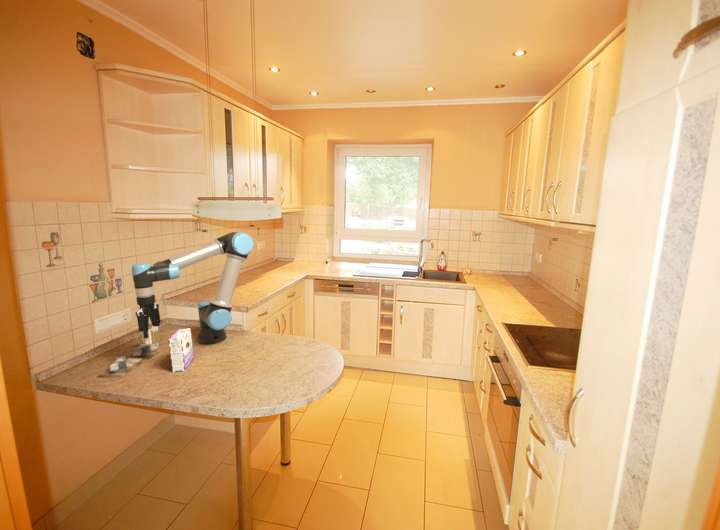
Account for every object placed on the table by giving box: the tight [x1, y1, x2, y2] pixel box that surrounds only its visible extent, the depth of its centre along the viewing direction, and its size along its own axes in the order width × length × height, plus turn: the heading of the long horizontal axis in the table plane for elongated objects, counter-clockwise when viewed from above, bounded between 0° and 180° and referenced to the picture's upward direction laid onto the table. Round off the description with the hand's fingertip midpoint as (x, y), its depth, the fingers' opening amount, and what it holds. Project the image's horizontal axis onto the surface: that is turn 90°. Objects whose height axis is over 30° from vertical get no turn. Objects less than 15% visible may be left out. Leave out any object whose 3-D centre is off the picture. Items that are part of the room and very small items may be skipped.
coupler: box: [141, 329, 162, 344], centre depth 165 cm, size 6×5×5 cm
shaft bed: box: [97, 343, 159, 378], centre depth 167 cm, size 26×11×6 cm, turn 177°
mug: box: [136, 328, 160, 351], centre depth 185 cm, size 8×13×10 cm, turn 89°
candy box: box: [168, 327, 195, 373], centre depth 163 cm, size 14×6×16 cm, turn 9°
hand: (152, 341), depth 166 cm, fingers closed on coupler, 5 cm apart
